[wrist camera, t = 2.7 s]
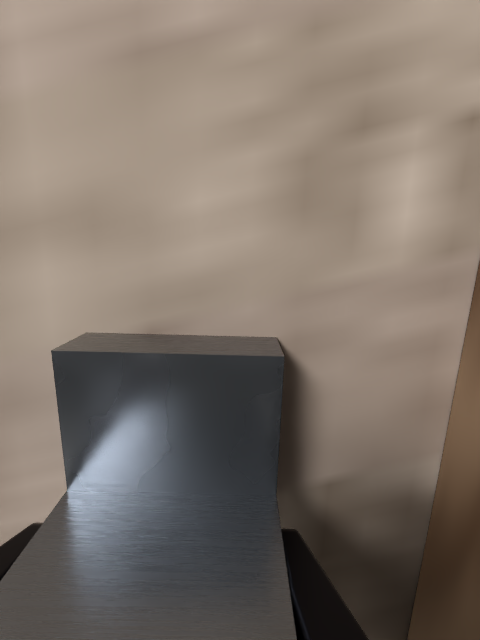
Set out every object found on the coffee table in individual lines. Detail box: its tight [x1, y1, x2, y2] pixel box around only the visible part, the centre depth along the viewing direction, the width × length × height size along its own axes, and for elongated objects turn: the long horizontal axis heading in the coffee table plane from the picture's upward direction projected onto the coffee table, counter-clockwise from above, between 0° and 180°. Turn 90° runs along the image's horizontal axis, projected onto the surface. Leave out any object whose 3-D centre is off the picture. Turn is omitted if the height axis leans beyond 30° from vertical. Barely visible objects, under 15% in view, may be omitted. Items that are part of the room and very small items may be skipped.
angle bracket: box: [0, 333, 297, 640], centre depth 6 cm, size 5×5×6 cm
